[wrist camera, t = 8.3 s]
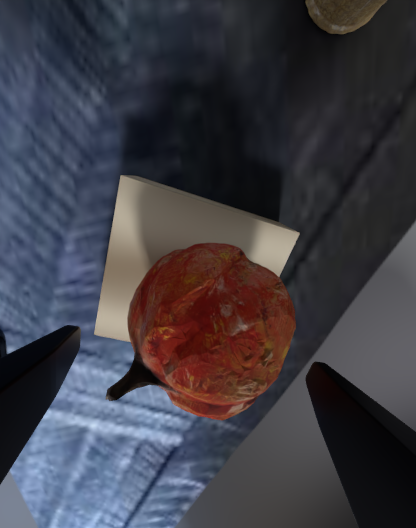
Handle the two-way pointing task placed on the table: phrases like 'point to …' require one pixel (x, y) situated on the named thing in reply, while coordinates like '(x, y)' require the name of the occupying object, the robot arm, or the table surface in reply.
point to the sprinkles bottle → (342, 13)
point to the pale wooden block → (174, 240)
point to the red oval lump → (208, 330)
